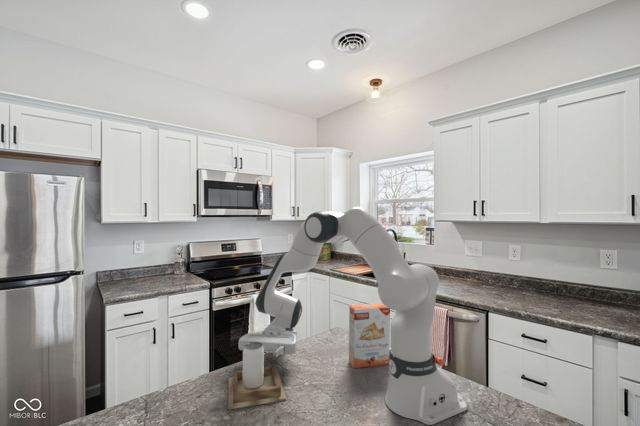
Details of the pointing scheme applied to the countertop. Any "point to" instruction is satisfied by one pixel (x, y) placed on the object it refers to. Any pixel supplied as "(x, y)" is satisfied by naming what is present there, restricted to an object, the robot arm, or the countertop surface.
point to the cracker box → (369, 335)
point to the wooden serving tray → (255, 390)
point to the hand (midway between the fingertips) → (260, 353)
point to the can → (253, 365)
